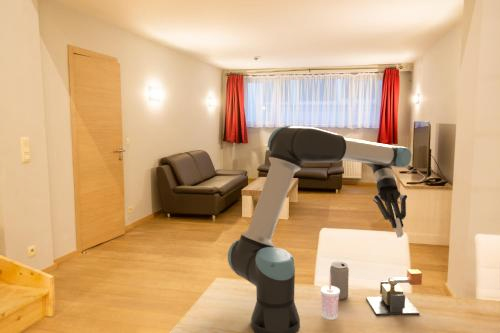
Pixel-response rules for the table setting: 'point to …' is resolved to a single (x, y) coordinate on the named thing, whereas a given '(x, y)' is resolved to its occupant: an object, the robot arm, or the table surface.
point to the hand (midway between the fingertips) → (400, 235)
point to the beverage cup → (330, 301)
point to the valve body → (391, 302)
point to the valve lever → (408, 278)
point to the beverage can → (340, 278)
